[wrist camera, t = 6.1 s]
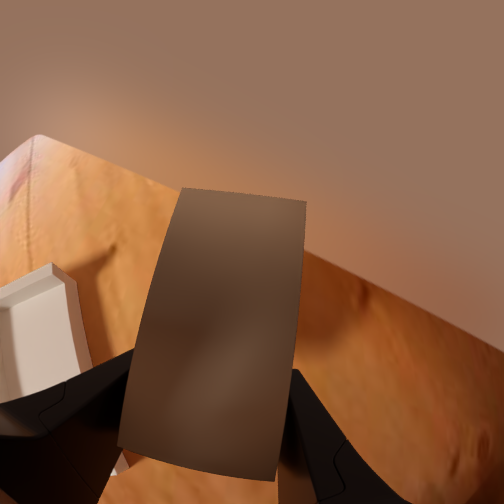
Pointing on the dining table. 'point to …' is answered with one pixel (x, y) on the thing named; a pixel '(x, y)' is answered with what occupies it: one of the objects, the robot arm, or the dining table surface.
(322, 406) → the robot arm
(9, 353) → the ledge
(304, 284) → the dining table surface
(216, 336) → the grey brown rectangular block
